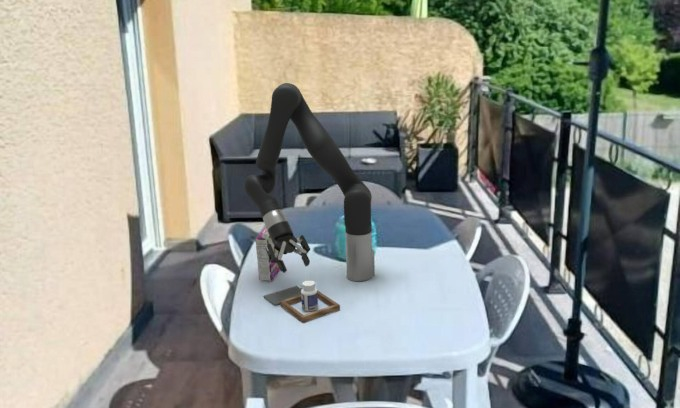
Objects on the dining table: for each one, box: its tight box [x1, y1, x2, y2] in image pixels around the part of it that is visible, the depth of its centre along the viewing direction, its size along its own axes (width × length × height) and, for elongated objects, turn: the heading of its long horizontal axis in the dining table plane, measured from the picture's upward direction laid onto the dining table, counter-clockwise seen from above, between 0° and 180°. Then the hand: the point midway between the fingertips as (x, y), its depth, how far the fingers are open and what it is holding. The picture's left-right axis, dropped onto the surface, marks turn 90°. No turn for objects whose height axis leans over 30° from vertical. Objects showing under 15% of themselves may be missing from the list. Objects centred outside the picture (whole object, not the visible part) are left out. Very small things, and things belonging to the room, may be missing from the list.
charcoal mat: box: [262, 285, 303, 307], centre depth 217 cm, size 13×8×1 cm, turn 124°
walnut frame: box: [280, 289, 341, 324], centre depth 208 cm, size 14×14×2 cm
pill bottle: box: [300, 280, 319, 312], centre depth 207 cm, size 5×5×9 cm
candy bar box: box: [255, 227, 280, 282], centre depth 232 cm, size 11×5×16 cm, turn 168°
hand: (296, 268), depth 211 cm, fingers open, 8 cm apart
